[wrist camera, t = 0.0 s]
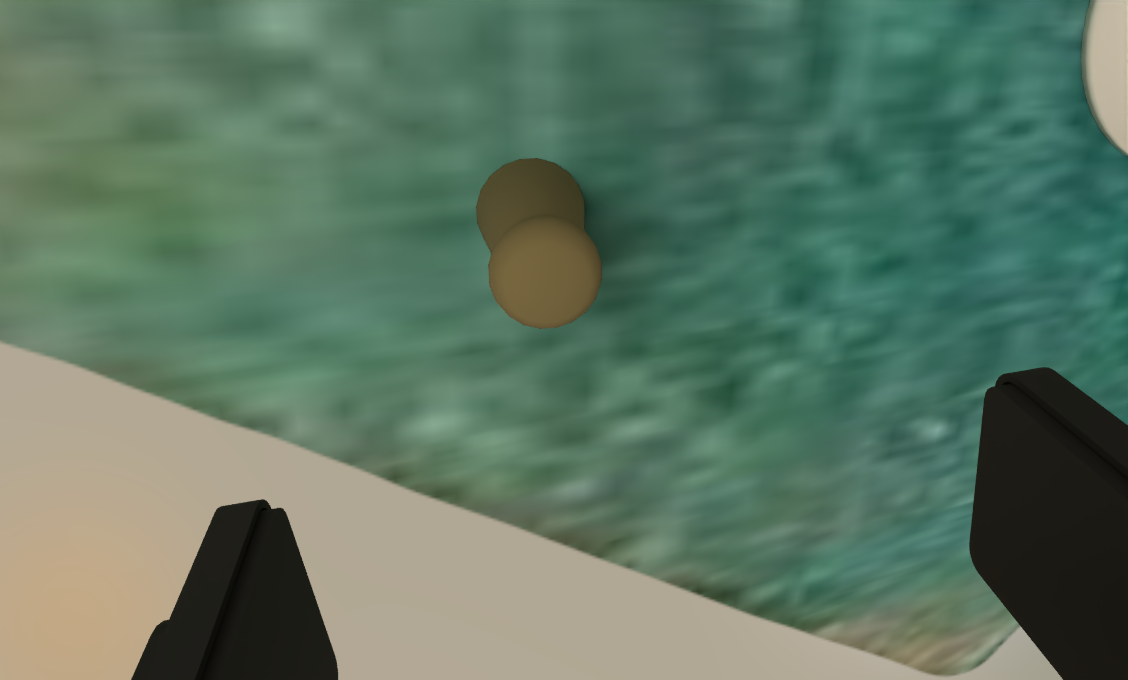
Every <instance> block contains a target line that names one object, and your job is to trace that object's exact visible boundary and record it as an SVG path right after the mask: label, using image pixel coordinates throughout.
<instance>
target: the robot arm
mask: <svg viewBox="0 0 1128 680" xmlns="http://www.w3.org/2000/svg"><path fill="white" fill-rule="evenodd" d="M969 548H970V555H971V558H972V562H973V564H974V566H975V568H976V570H977V572H978V573H979V574H980V576H981V577H982V578H983V580H984V581H985V582H986V583H987V585H988V586H989V587H990V588H991V590H992V591H993V592H994V593H995V595H996V596H997V597H998V598H999V600H1000V601H1001V602H1002V603H1003V605H1004V606H1005V607H1006V608H1007V610H1008V611H1009V612H1010V613H1011V615H1012V616H1013V617H1014V618H1015V620H1016V621H1017V622H1018V623H1019V625H1020V626H1021V627H1022V628H1023V630H1024V631H1025V632H1026V633H1027V635H1028V636H1029V637H1030V638H1031V640H1032V641H1033V642H1034V643H1035V645H1036V646H1037V647H1038V648H1039V650H1040V651H1041V652H1042V654H1043V655H1044V656H1045V657H1046V658H1047V660H1048V661H1049V662H1050V664H1051V665H1052V666H1053V667H1054V669H1055V670H1056V671H1057V672H1058V674H1059V675H1060V676H1061V677H1062V679H1063V680H1128V425H1126V424H1125V423H1124V422H1122V421H1121V420H1120V419H1118V418H1117V417H1116V416H1114V415H1113V414H1112V413H1110V412H1109V411H1108V410H1106V409H1105V408H1104V407H1102V406H1101V405H1100V404H1098V403H1097V402H1096V401H1094V400H1093V399H1092V398H1090V397H1089V396H1088V395H1086V394H1085V393H1084V392H1082V391H1081V390H1080V389H1078V388H1077V387H1076V386H1074V385H1073V384H1072V383H1070V382H1069V381H1068V380H1066V379H1065V378H1064V377H1062V376H1061V375H1060V374H1058V373H1057V372H1056V371H1054V370H1052V369H1050V368H1046V367H1042V368H1036V369H1030V370H1024V371H1018V372H1013V373H1007V374H1003V375H1001V376H1000V377H999V378H998V380H997V381H996V384H995V387H991V388H989V389H988V390H987V392H986V394H985V398H984V407H983V417H982V426H981V436H980V446H979V455H978V465H977V475H976V485H975V494H974V504H973V514H972V524H971V533H970V543H969ZM131 680H338V668H337V662H336V658H335V654H334V651H333V648H332V645H331V643H330V640H329V637H328V634H327V631H326V628H325V625H324V622H323V619H322V616H321V614H320V610H319V607H318V604H317V602H316V599H315V596H314V593H313V590H312V587H311V584H310V581H309V578H308V576H307V572H306V569H305V566H304V564H303V561H302V558H301V555H300V552H299V549H298V546H297V543H296V540H295V537H294V534H293V531H292V528H291V525H290V522H289V520H288V517H287V514H286V512H285V511H284V509H282V508H276V509H271V507H270V505H269V503H268V502H267V501H265V500H263V499H262V500H256V501H250V502H244V503H238V504H232V505H226V506H221V507H219V508H218V509H217V510H216V512H215V514H214V516H213V518H212V520H211V523H210V525H209V527H208V530H207V532H206V535H205V537H204V539H203V542H202V544H201V546H200V549H199V551H198V554H197V556H196V558H195V560H194V563H193V565H192V568H191V570H190V572H189V574H188V577H187V579H186V581H185V584H184V586H183V588H182V591H181V593H180V596H179V598H178V600H177V603H176V605H175V607H174V610H173V612H172V614H171V617H170V619H169V620H165V621H163V622H161V623H160V624H159V625H157V626H156V628H155V630H154V631H153V633H152V634H151V636H150V638H149V641H148V643H147V645H146V648H145V650H144V652H143V654H142V657H141V659H140V661H139V663H138V666H137V668H136V670H135V672H134V675H133V677H132V679H131Z"/></svg>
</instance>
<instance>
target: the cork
mask: <svg viewBox="0 0 1128 680" xmlns="http://www.w3.org/2000/svg"><path fill="white" fill-rule="evenodd" d="M476 210H477V223H478V226H479V228H480V231H481V233H482V235H483V238H484V240H485V242H486V244H487V246H488V248H489V250H490V252H491V257H490V261H489V264H488V267H489V284H490V288H491V291H492V293H493V295H494V298H495V300H496V302H497V303H498V304H499V305H500V306H501V308H502V309H503V310H504V311H505V312H506V313H507V314H508V315H509V316H510V317H511V318H513V319H514V320H516V321H518V322H520V323H521V324H523V325H526V326H531V327H535V328H539V329H542V328H557V327H560V326H562V325H565V324H568V323H571V322H573V321H574V320H576V319H577V318H578V317H580V316H581V315H582V314H584V313H585V312H586V311H587V310H588V308H589V307H590V306H591V304H592V303H593V302H594V300H595V299H596V296H597V293H598V290H599V287H600V284H601V280H602V262H601V259H600V257H599V254H598V251H597V248H596V246H595V244H594V242H593V241H592V239H591V238H590V237H589V236H588V234H587V233H586V232H585V231H584V199H583V196H582V193H581V191H580V188H579V185H578V184H577V183H576V181H575V180H574V179H573V178H572V176H571V175H570V174H569V172H567V171H566V170H564V169H563V168H561V167H560V166H558V165H557V164H555V163H553V162H549V161H545V160H542V159H538V158H534V159H519V160H516V161H514V162H511V163H508V164H506V165H503V166H502V167H501V168H500V169H498V170H497V171H496V172H495V173H493V174H492V175H491V176H490V177H489V178H488V180H487V181H486V183H485V184H484V186H483V188H482V189H481V191H480V195H479V198H478V202H477V206H476Z"/></svg>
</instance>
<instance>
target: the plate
mask: <svg viewBox="0 0 1128 680" xmlns="http://www.w3.org/2000/svg"><path fill="white" fill-rule="evenodd" d="M1081 69H1082V81H1083V86H1084V91H1085V96H1086V100H1087V102H1088V105H1089V108H1090V111H1091V114H1092V116H1093V118H1094V120H1095V121H1096V123H1097V125H1098V127H1099V129H1100V130H1101V132H1102V133H1103V134H1104V135H1105V137H1106V138H1107V139H1108V140H1109V142H1110V143H1111V144H1112V145H1113V146H1114V147H1116V148H1117V149H1118V150H1119V151H1120V152H1121V153H1123V154H1124V155H1125V156H1127V157H1128V0H1090V3H1089V7H1088V10H1087V14H1086V19H1085V24H1084V30H1083V35H1082V48H1081Z"/></svg>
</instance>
